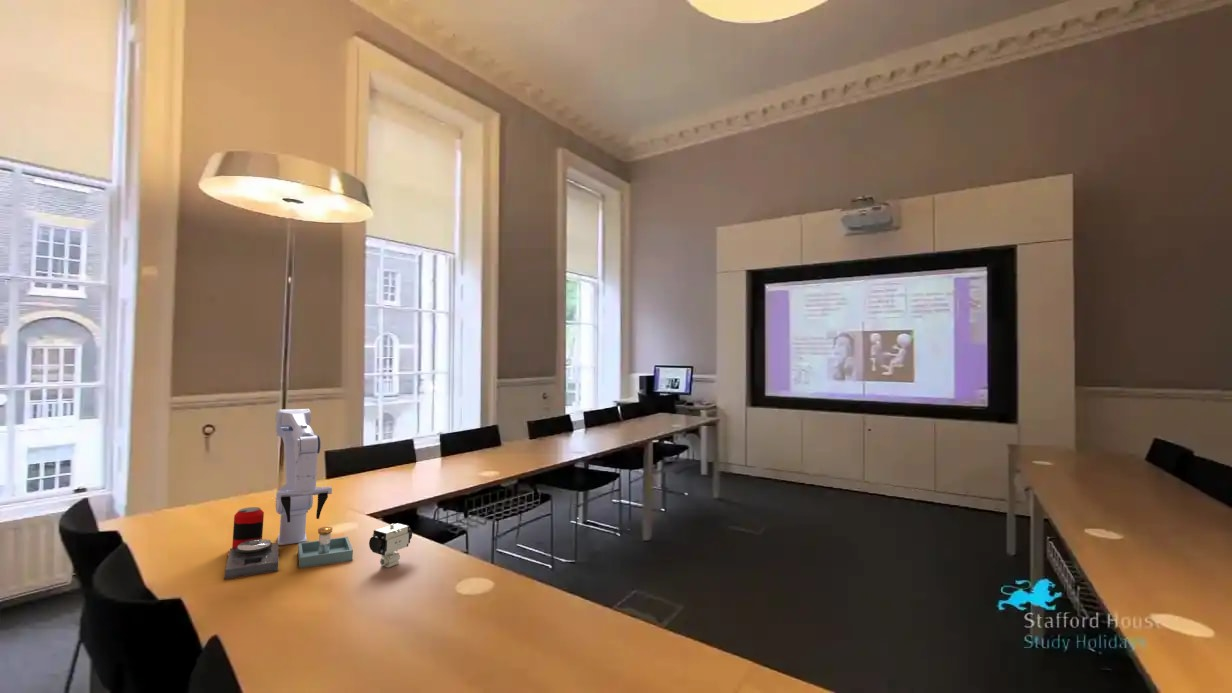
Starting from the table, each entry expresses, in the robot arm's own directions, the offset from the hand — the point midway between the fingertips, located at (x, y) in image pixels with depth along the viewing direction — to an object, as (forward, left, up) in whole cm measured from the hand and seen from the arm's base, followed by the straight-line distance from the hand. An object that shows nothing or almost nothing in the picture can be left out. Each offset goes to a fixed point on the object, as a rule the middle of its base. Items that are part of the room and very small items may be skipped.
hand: (303, 519), depth 159 cm
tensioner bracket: (+2, -12, -10) cm, 16 cm away
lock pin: (+6, +6, -10) cm, 13 cm away
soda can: (-13, -14, -11) cm, 22 cm away
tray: (+5, +6, -10) cm, 13 cm away
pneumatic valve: (+21, +22, -11) cm, 32 cm away
